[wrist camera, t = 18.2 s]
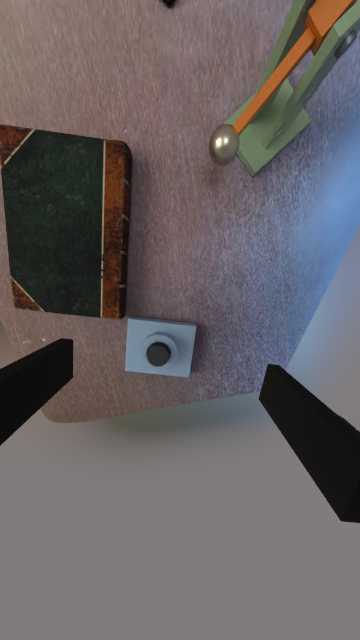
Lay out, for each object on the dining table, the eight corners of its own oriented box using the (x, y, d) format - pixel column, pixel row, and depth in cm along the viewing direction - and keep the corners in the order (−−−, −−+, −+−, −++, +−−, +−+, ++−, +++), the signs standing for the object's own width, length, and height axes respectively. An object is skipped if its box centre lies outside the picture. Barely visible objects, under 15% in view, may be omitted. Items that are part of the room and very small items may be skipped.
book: (18, 142, 27) (30, 305, 32) (-5, 121, 24) (11, 308, 29) (134, 158, 28) (126, 315, 33) (127, 140, 24) (120, 320, 29)
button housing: (195, 323, 33) (197, 329, 29) (188, 371, 36) (189, 383, 32) (131, 315, 33) (124, 320, 29) (128, 365, 35) (121, 376, 31)
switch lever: (223, 175, 24) (218, 170, 21) (206, 151, 24) (199, 143, 21) (350, 29, 16) (371, -11, 13) (330, -13, 16) (347, -65, 13)
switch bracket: (252, 177, 28) (319, 84, 15) (221, 131, 27) (263, -18, 13) (306, 127, 27) (434, -26, 13) (276, 76, 26) (385, -152, 12)
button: (170, 343, 30) (169, 347, 29) (168, 363, 31) (167, 367, 30) (149, 341, 30) (147, 345, 29) (147, 360, 31) (145, 365, 29)
